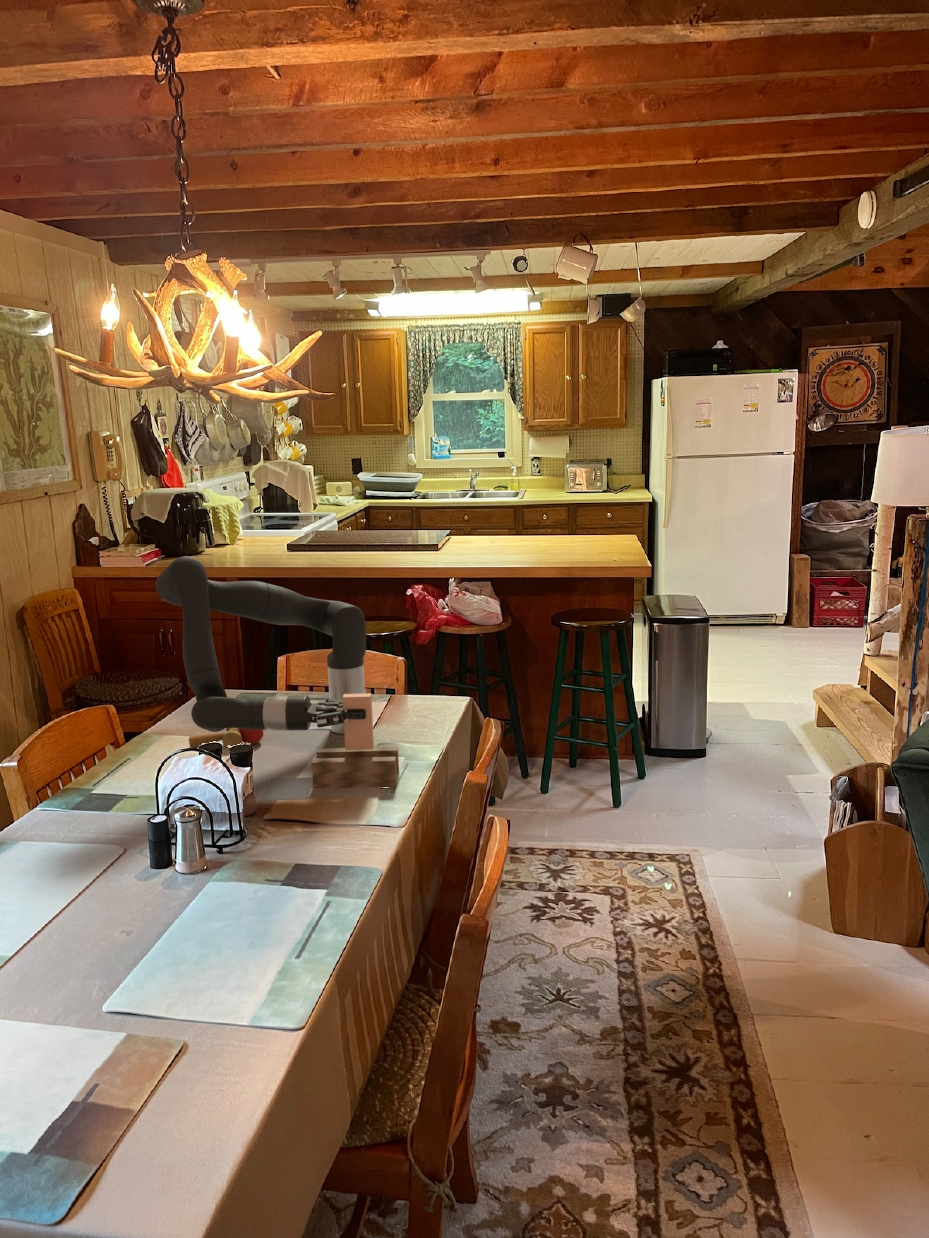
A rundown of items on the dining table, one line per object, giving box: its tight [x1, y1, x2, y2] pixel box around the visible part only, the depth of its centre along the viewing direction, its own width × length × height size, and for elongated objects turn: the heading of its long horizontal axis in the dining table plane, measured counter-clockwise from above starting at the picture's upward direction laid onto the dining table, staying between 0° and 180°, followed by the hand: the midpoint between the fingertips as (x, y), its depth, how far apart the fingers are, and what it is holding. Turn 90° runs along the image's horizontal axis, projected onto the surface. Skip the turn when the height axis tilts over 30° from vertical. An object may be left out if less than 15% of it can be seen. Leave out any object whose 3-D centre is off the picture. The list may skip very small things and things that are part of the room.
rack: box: [311, 746, 400, 789], centre depth 200 cm, size 18×9×6 cm, turn 90°
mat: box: [259, 777, 313, 802], centre depth 197 cm, size 10×12×1 cm
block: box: [342, 692, 375, 750], centre depth 198 cm, size 6×2×12 cm, turn 90°
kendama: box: [188, 728, 265, 748], centre depth 225 cm, size 8×6×18 cm
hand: (366, 711), depth 197 cm, fingers closed on block, 2 cm apart
